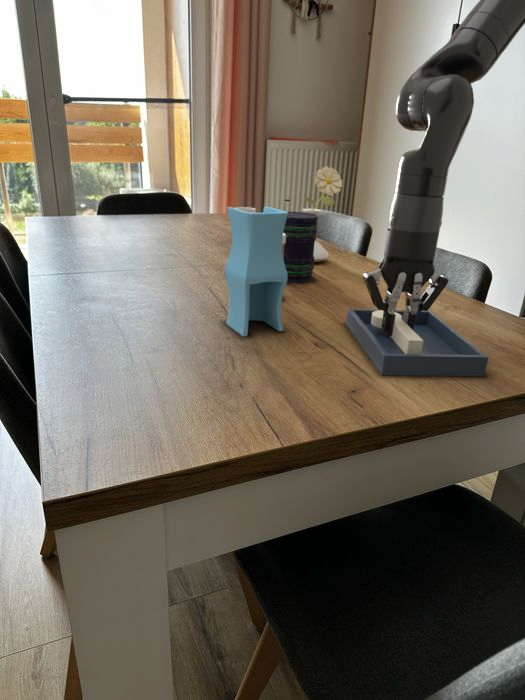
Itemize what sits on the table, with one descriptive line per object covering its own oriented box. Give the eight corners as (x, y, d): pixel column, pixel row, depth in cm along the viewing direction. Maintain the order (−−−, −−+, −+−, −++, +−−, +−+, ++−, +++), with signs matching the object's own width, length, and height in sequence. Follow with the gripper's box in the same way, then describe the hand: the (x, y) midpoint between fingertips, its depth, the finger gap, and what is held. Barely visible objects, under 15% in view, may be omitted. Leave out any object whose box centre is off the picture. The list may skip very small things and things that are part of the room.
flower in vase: (288, 264, 138) (296, 165, 128) (285, 255, 148) (292, 163, 139) (337, 266, 138) (347, 168, 129) (330, 257, 149) (339, 166, 139)
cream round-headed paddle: (367, 319, 90) (369, 306, 90) (394, 320, 91) (396, 307, 90) (397, 355, 76) (399, 340, 75) (429, 355, 76) (432, 340, 75)
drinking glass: (229, 238, 167) (230, 207, 164) (245, 237, 172) (246, 206, 168) (242, 242, 163) (244, 210, 159) (258, 240, 167) (260, 209, 163)
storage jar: (319, 278, 125) (327, 201, 119) (300, 285, 118) (306, 204, 111) (285, 270, 130) (290, 197, 123) (263, 278, 123) (268, 200, 116)
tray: (427, 326, 96) (430, 310, 94) (484, 376, 76) (488, 357, 75) (346, 324, 94) (347, 308, 93) (381, 375, 74) (384, 355, 73)
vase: (262, 317, 96) (268, 206, 88) (283, 330, 89) (292, 212, 82) (223, 321, 92) (226, 206, 84) (243, 336, 86) (248, 213, 78)
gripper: (447, 223, 81) (428, 327, 87) (361, 220, 79) (348, 325, 86) (469, 232, 74) (446, 343, 80) (376, 228, 72) (360, 342, 79)
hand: (396, 333), depth 83 cm, fingers closed on cream round-headed paddle, 2 cm apart
